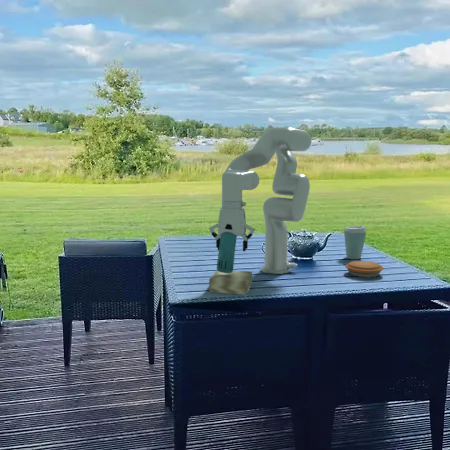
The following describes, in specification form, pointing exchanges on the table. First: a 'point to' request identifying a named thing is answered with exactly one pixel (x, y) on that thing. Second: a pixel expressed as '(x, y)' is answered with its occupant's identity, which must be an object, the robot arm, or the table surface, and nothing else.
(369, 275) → the pie
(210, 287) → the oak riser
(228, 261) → the beverage bottle
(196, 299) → the table surface
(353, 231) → the disposable coffee cup
